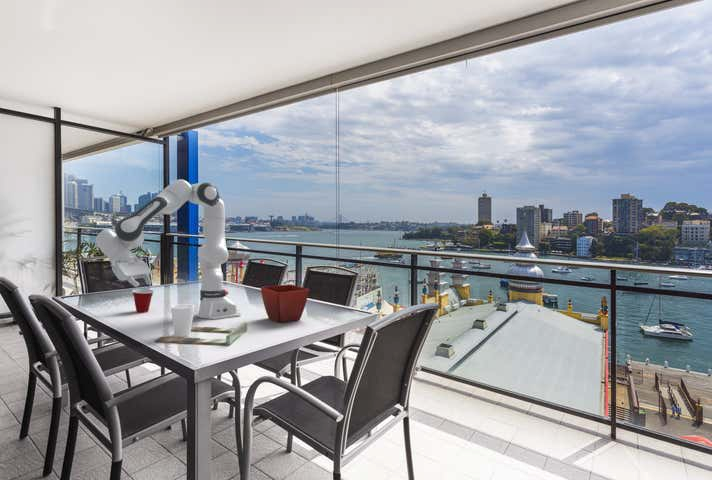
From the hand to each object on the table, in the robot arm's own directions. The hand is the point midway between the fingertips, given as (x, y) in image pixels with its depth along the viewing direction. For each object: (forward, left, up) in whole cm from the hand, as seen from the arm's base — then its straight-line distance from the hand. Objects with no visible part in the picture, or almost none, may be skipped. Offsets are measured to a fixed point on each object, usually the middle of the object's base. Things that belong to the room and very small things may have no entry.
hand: (143, 284), depth 167 cm
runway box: (-23, +14, -22) cm, 35 cm away
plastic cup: (+1, -46, -22) cm, 51 cm away
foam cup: (-15, +9, -22) cm, 28 cm away
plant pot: (-66, -3, -22) cm, 69 cm away
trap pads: (-22, +13, -21) cm, 33 cm away
